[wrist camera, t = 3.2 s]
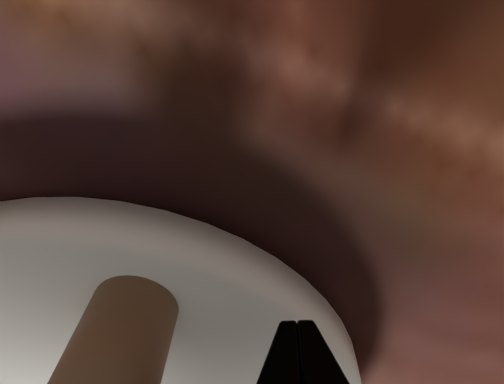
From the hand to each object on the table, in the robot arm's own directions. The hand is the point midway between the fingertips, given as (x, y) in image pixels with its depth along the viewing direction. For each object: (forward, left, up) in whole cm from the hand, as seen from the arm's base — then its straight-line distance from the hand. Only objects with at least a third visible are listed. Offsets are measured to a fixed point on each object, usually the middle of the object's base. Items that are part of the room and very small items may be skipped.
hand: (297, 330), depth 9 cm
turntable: (-10, +4, -4) cm, 11 cm away
